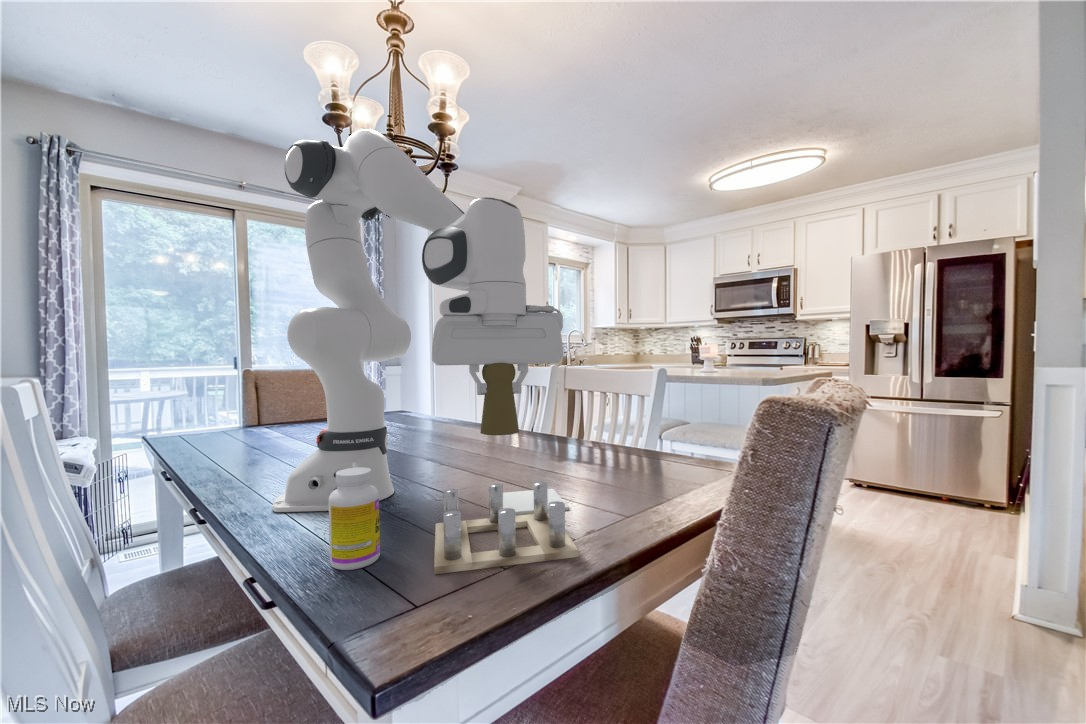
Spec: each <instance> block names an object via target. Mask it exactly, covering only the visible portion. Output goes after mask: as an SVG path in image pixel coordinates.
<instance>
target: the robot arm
mask: <svg viewBox="0 0 1086 724" xmlns="http://www.w3.org/2000/svg"><path fill="white" fill-rule="evenodd" d="M284 175H285V178H286V181H287V183H288V184H289V187H290V188H291V189H292V190H293V191H295V192H297V193H299V194H300V195H302V196H304V197H307V198H309V199H313V198H315V199H317V200H316V201H314V202H313V203H311V204H310V205H309V206H308V207H307V209H306V211H305V214H304V215H305V216H304V233H305V236H304V237H305V244H306V245H305V246H306V250H307V255H308V262H309V265H310V270H311V274H312V275H311V276H312V279H313V284H314V286H315V288H316V289H317V291H318V292H319V293H320V294H321V295H323V296H324V297H326V298H327V299H328V300H330V301H332V302H333V303H334V304H335V305H336V306H337V307H333V306H332V307H331V306H322V307H320V306H319V307H312V308H306V309H304V308H303V309H300V310H298V311H297V312H296V313H295V314H294V315H293V317H292V318H291V320H290V321H289V324H288V328H287V335H286V337H287V342H288V344H289V347H290V349H291V350H292V352H293V353H294V354H295V356H296V357H298V358H299V359H300V360H302V361H303V362H305V363H306V364H307V365H308V366H309V367H310V368H311V369H312V370H313V371H314V373H315V374H316V376H317V378H318V379H319V381H320V384H321V386H322V389H323V391H324V396H325V407H326V408H325V409H326V418H327V419H326V422H327V428H323V430H321V431H320V432H319V434H318V435H317V436H316V438H315V440H316V441H315V443H316V444H317V445H316V447H317V450H315V451H314V452H313V453H312V454H310V455H309V456H308V457H307V458H306V459H304V460H303V461H302V462H301V463H300V464H298V465H297V466H296V467H294V469H293V470H292V471H291V472H290V474H289V476H288V478H287V481H286V487H285V491H284V492H283V493H281V494H280V495H279V496H277V497H276V498H275V499H274V500H273V503H272V512H275V513H291V512H292V513H296V512H297V513H298V512H327V511H328V512H329V496H330V494H331V493H332V492H333V491H334V490H336V489H337V486H338V484H337V483H336V472H338V471H340V470H344V469H348V468H358V467H364V468H370V469H371V476H372V477H371V480H370V485H372V486H374V487H376V488H377V490H378V492H379V502H380V501H382V500H384V499H387V498H389V497H390V496H392V495H393V494H394V493H395V489H394V486H393V483H392V482H393V481H392V480H391V474H390V471H389V464H388V463H389V462H388V458H387V453H388V450H389V446H388V445H389V443H388V442H389V438H388V437H389V436H388V435H389V434H388V427H387V426H386V425H385V424H386V423H385V394H384V390H383V389H382V388H381V386H380V385H379V384H377V383H376V382H374V381H372V380H370V379H369V378H368V377H367V376H366V374H365V373H364V370H363V368H362V362H365V363H367V362H370V363H371V362H384V361H390V360H393V359H397V358H400V357H403V356H404V355H405V354H407V351H408V350H409V348H410V345H411V341H412V333H411V328H410V326H409V324H408V322H407V321H406V320H405V318H403V317H402V316H400V315H399V314H397V312H395V311H394V310H393V308H391V307H390V306H389V304H388V303H387V302H386V301H385V299H384V298H383V297H382V295H381V294H380V292H379V290H378V289H377V287H376V285H375V283H374V281H373V279H372V277H371V272H370V270H369V266H368V262H367V257H366V253H365V249H364V246H363V241H362V237H361V234H360V229H359V224H360V221H361V219H363V220H364V221H368V222H369V221H373V220H374V219H375V218H376V216H378V215H380V214H385V215H387V216H388V217H390V218H392V219H395V220H397V221H398V220H399V221H402V222H405V223H408V224H411V225H414V226H417V227H420V228H422V229H425V230H427V231H428V230H429V231H430V232H432V233H431V234H430V235H429V236H428V237H427V238H426V240H425V242H424V245H423V247H422V251H421V252H422V253H421V264H422V269H423V271H424V273H425V275H426V277H427V278H428V280H429V281H430V282H431V283H432V284H434V285H437V286H440V287H442V288H445V289H451V290H458V291H463V292H467V293H463V294H460V295H456V296H453V297H449V298H446V299H444V300H443V301H441V302H440V304H439V313H440V315H441V316H442V317H440V318H439V319H438V320H437V322H436V324H435V326H434V329H433V330H434V332H433V336H432V343H431V345H432V346H431V361H432V363H433V364H434V365H436V366H469V367H468V371H469V374H470V375H471V377H472V379H473V381H474V382H475V384H476V395H477V396H485V395H486V393H487V390H486V388H487V383H486V382H482V381H481V380H480V378H479V376H478V374H477V373H479V372H480V366H481V365H483V366H484V365H489V364H493V363H508V364H513V365H516V367H517V372H519V375H518V376H517V378H516V380H515V381H512V387H513V393H514V395H520V394H522V383H524V380H525V379H526V376H527V375H528V373H529V365H531V364H532V365H537V364H539V365H540V364H541V365H543V364H546V365H547V364H548V365H550V364H559V363H561V361H562V360H563V358H564V346H563V345H564V343H563V338H562V330H563V327H564V318H563V314H562V312H561V311H560V310H559V309H558V308H555V306H553V305H544V306H542V305H535V304H533V305H531V304H529V305H528V304H527V282H526V278H525V276H524V265H525V262H526V253H527V252H526V233H525V232H526V231H525V225H524V219H523V215H522V212H521V210H520V209H519V207H517V206H516V205H515V204H513V203H511V202H509V201H506V200H504V199H500V198H496V197H487V196H486V197H478V198H475V199H473V200H472V201H471V202H470V204H469V205H468V208H467V210H466V211H465V212H464V211H463V209H461V208H460V207H459V206H458V205H457V204H455V203H454V201H452V200H451V199H450V198H449V197H448V196H447V195H446V194H445V193H444V192H443V191H442V190H441V189H440V188H439V187H438V186H437V185H436V184H435V183H433V181H432V180H431V179H430V178H429V177H428V175H426V174H425V173H424V171H422V169H420V168H419V166H418V165H417V164H416V163H415V162H414V161H413V160H412V159H411V158H410V157H409V156H408V154H407V153H406V152H405V151H404V149H402V148H401V147H400V146H398V144H396V143H395V142H394V141H393V140H391V139H390V138H389V137H388V136H385V135H384V134H383V133H380V132H379V131H376V130H373V129H368V128H367V129H360V130H356V131H354V132H353V133H352V134H351V135H350V136H349V137H348V138H347V140H346V142H345V143H344V146H342V147H338V146H334V145H331V144H330V143H329V141H327V140H312V139H301V140H298V141H296V142H294V143H293V144H291V145H290V147H289V148H288V150H287V152H286V156H285V160H284Z"/></svg>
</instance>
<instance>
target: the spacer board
mask: <svg viewBox="0 0 1086 724" xmlns="http://www.w3.org/2000/svg"><path fill="white" fill-rule="evenodd" d="M515 527H516V529H518V528H519V529H520V528H521V529H522V528H527V529H528V531H529V534H530V535H531V538H532V539H533V541H534V543H535V545H529V546H521V547H516V554H515V555H514V556H512V557H501V556H500V555H499V549H494V550H485V551H476V552H472V551H471V546H470V545H471V544H470V540H469V539H470V537H469V534H472V533H480V532H481V533H482V532H490V531H491V532H493V531H498V523H490V522H489V517H488V518H476V519H470V520H469V519H467V520H461V545H462V557H461V558H459V559H457V560H446V559H444V525H443V522H437V523H435V527H434V529H435V531H434V532H435V533H434V558H433V559H434V560H433V561H434V565H433V567H434V570H433V571H434V572H433V573H434V575H439V574H440V575H441V574H448V573H457V572H465V571H473V570H482V569H489V568H491V569H492V568H497V567H508V566H515V565H523V564H532V563H539V562H548V561H557V560H565V559H572V558H573V559H574V558H579V556H580V555H579V554H580V551H579V548H578V547H577V545H576V543H574V541H573V540H572V538H571V537H570V536H569V535H568V533H567V532H566V531H565V546H564V547H562V548H552V547H550V546H549V514H548V519H547V520H545V521H536V520H534V513H533V514H523V515H515Z"/></svg>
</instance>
